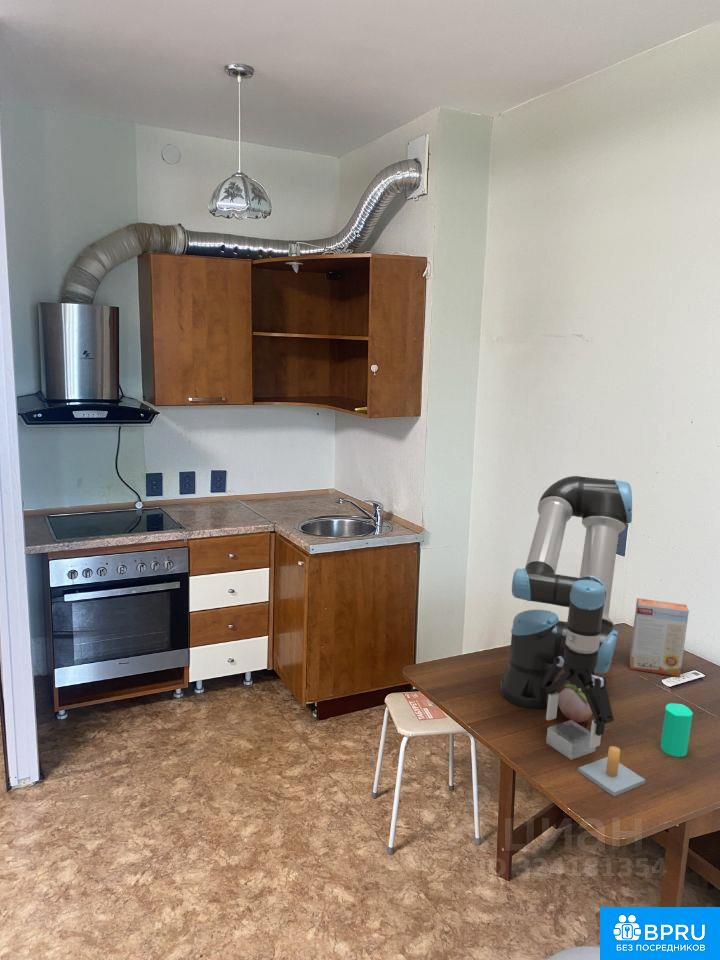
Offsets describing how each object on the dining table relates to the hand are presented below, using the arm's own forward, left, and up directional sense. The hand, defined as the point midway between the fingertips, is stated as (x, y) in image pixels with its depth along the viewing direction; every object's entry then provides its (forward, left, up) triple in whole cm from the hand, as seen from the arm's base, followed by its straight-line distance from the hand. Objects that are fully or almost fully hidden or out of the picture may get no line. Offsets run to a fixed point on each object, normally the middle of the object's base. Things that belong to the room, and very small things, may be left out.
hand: (572, 732), depth 169 cm
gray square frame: (0, 0, -4) cm, 4 cm away
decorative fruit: (-8, +10, -4) cm, 14 cm away
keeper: (+13, -1, -4) cm, 13 cm away
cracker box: (-19, +55, -4) cm, 59 cm away
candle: (+12, +22, -4) cm, 26 cm away
